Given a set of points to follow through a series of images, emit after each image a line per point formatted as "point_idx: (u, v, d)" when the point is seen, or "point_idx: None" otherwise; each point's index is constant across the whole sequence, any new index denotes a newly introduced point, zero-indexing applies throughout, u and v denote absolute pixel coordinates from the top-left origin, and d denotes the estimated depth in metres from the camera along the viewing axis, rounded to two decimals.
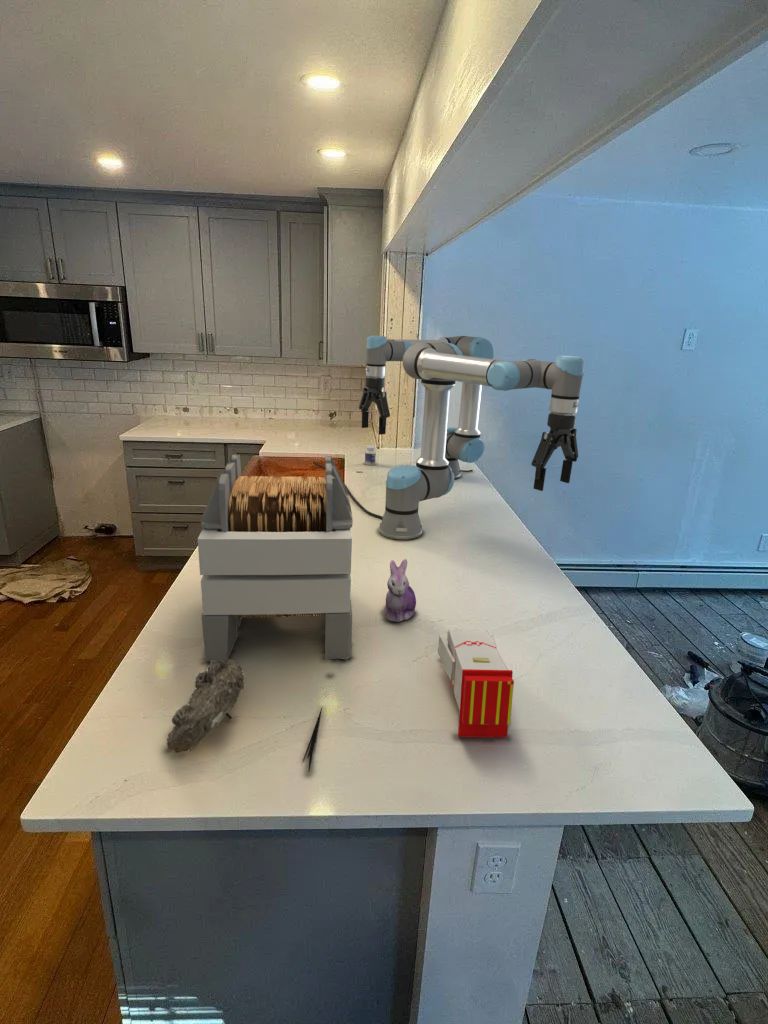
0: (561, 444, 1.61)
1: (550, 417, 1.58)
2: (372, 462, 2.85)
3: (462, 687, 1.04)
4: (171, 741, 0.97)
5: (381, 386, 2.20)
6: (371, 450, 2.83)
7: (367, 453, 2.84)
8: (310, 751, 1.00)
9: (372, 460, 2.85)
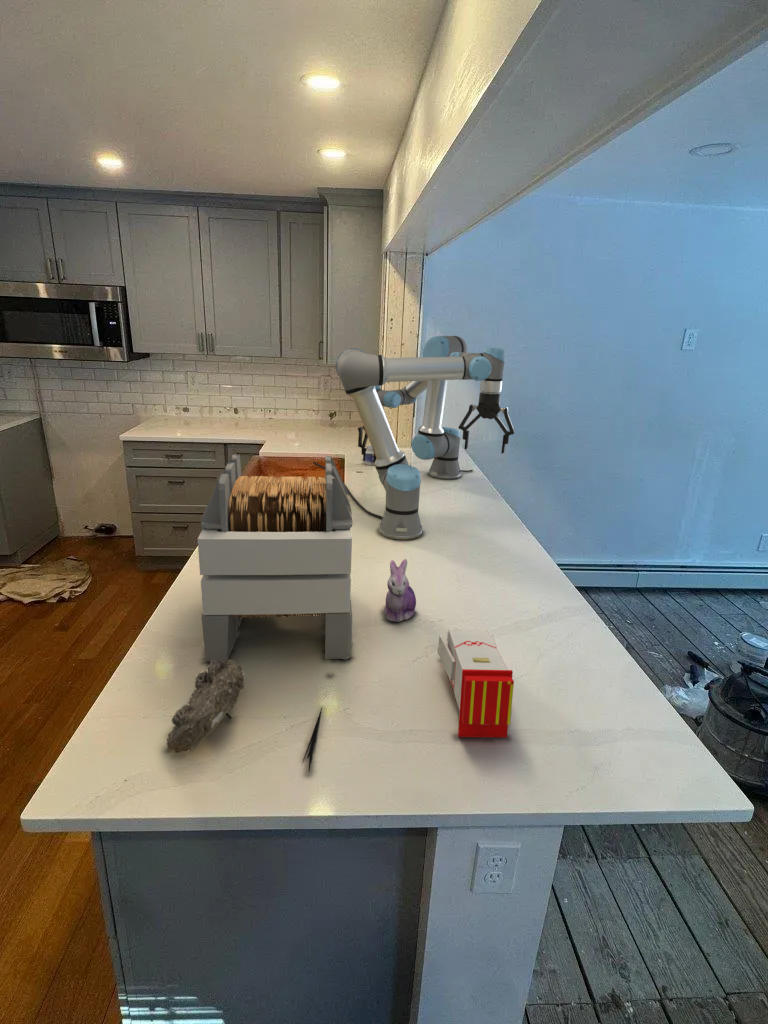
0: None
1: (499, 397, 2.00)
2: (372, 462, 2.85)
3: (462, 687, 1.04)
4: (171, 741, 0.97)
5: None
6: (371, 450, 2.83)
7: (367, 453, 2.84)
8: (310, 751, 1.00)
9: (372, 460, 2.85)
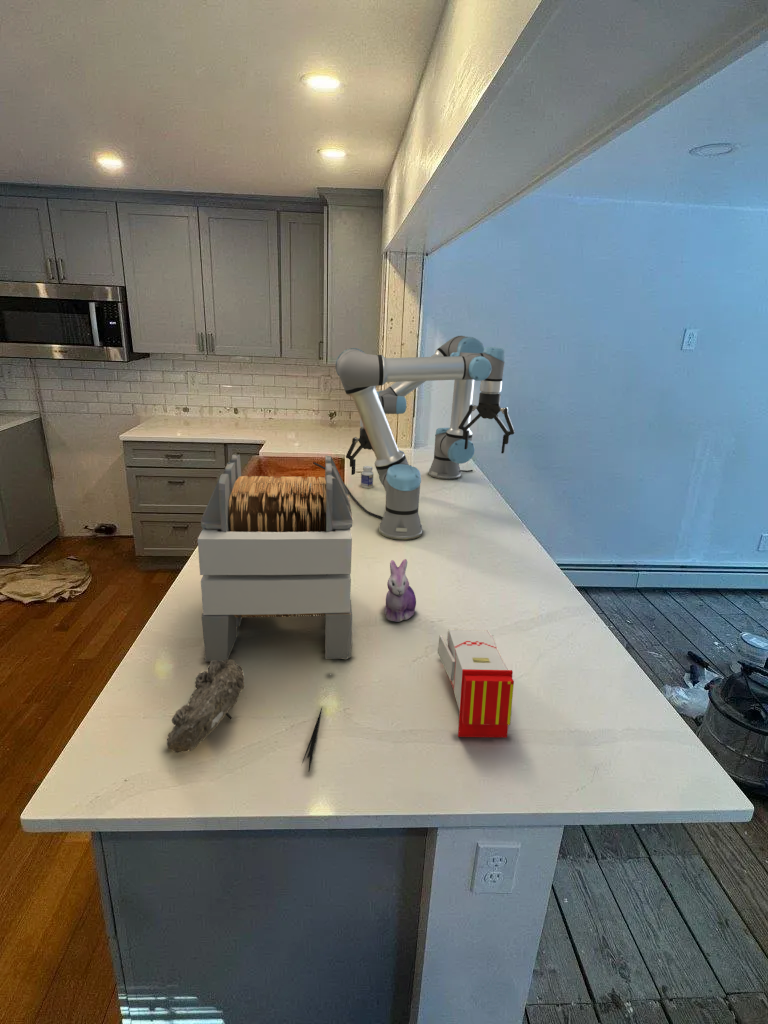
0: None
1: (499, 397, 2.00)
2: (369, 485, 2.49)
3: (462, 687, 1.04)
4: (171, 741, 0.97)
5: None
6: (368, 471, 2.47)
7: (363, 474, 2.47)
8: (310, 751, 1.00)
9: (370, 483, 2.48)
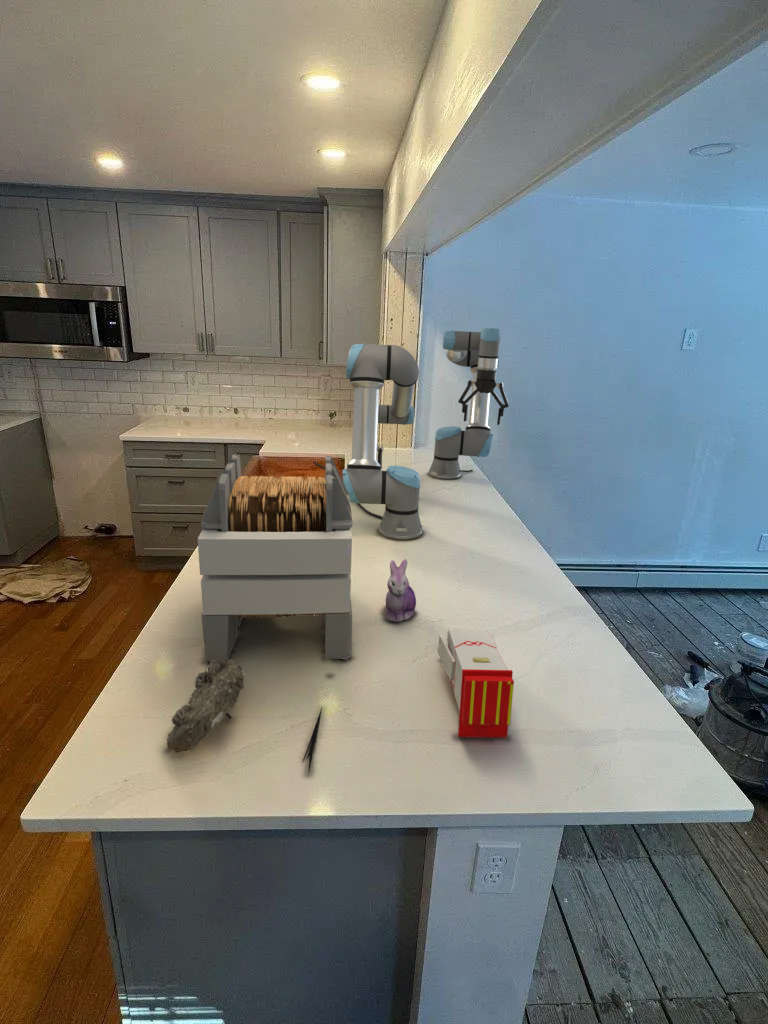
0: None
1: None
2: None
3: (462, 687, 1.04)
4: (171, 741, 0.97)
5: (476, 377, 2.25)
6: None
7: None
8: (310, 751, 1.00)
9: None
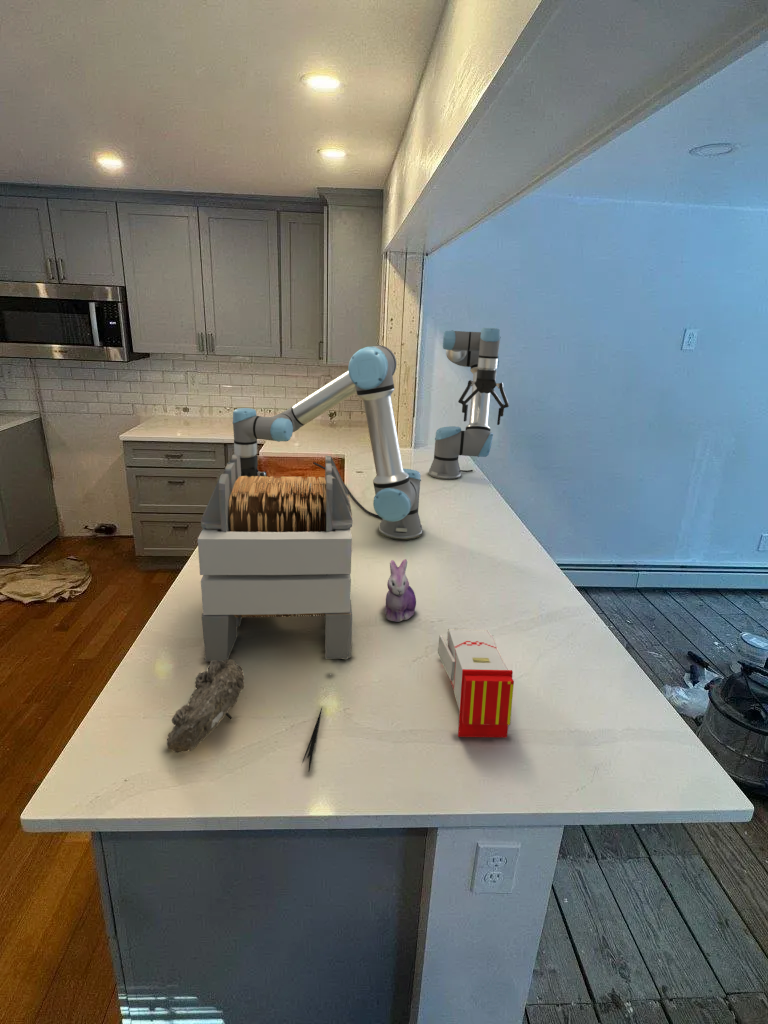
0: None
1: (252, 460, 1.89)
2: None
3: (462, 687, 1.04)
4: (171, 741, 0.97)
5: (476, 377, 2.25)
6: None
7: None
8: (310, 751, 1.00)
9: None
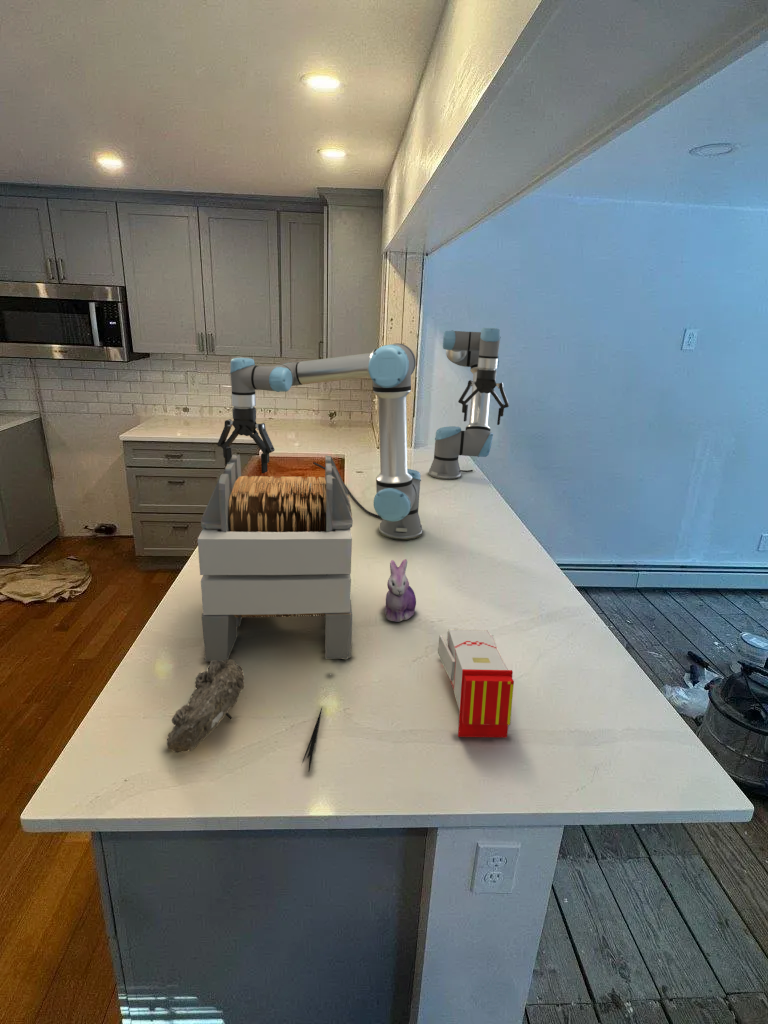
0: None
1: (251, 412, 1.83)
2: None
3: (462, 687, 1.04)
4: (171, 741, 0.97)
5: (476, 377, 2.25)
6: None
7: None
8: (310, 751, 1.00)
9: None
